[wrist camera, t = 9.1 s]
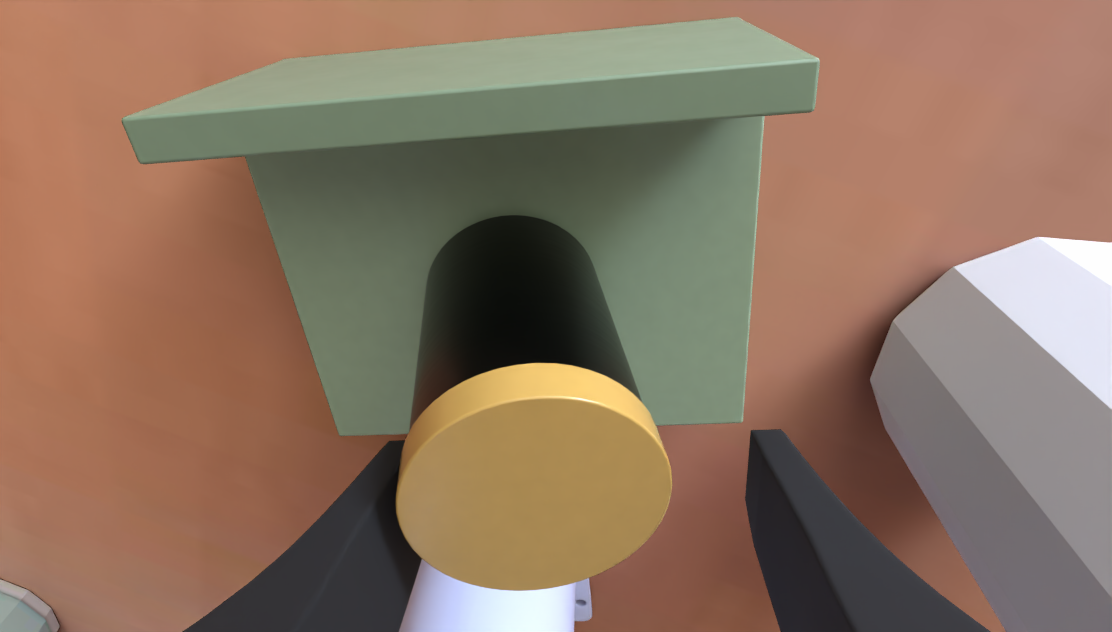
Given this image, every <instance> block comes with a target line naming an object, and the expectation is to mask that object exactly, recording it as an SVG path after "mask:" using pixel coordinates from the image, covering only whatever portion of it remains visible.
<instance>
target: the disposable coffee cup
mask: <svg viewBox="0 0 1112 632" xmlns="http://www.w3.org/2000/svg"><path fill="white" fill-rule="evenodd" d="M59 627H60V626H59V624H58V621H57V619H56V617H55V615H54V613H53V611H52V609H51V608H50V607H49V606H48V605H47V604H45V603H44V602H43V601H42V600H40V599H39V598H38V597H37V596H35V595H34V594H33V593H31V592H30V591H29V590H26V589H24V588H21V587H19V586H16V585H14V584H11V583H9V582H6V581H4V580H1V579H0V632H57V631H58V629H59Z"/></svg>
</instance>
